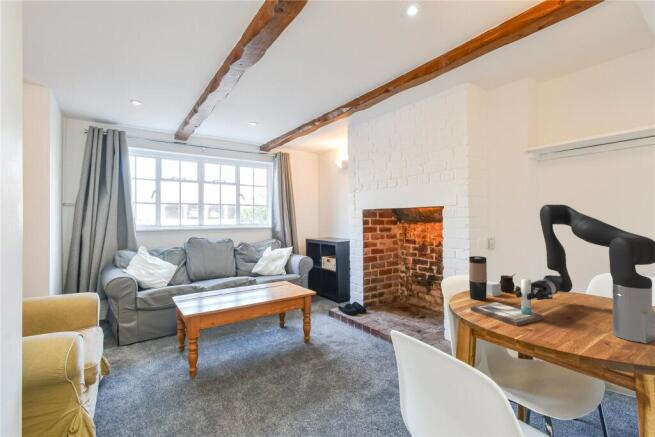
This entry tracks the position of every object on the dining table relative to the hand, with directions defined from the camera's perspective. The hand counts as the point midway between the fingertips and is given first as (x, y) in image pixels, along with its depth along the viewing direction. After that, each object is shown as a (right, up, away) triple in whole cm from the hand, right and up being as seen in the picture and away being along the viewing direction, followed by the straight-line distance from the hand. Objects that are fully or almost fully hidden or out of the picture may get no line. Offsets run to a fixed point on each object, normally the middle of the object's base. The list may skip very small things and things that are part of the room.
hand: (522, 296), depth 118 cm
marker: (+2, -7, +2) cm, 8 cm away
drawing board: (-4, -9, +6) cm, 11 cm away
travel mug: (-3, -9, +29) cm, 30 cm away
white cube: (+7, -9, +36) cm, 37 cm away
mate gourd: (+18, -8, +41) cm, 45 cm away
